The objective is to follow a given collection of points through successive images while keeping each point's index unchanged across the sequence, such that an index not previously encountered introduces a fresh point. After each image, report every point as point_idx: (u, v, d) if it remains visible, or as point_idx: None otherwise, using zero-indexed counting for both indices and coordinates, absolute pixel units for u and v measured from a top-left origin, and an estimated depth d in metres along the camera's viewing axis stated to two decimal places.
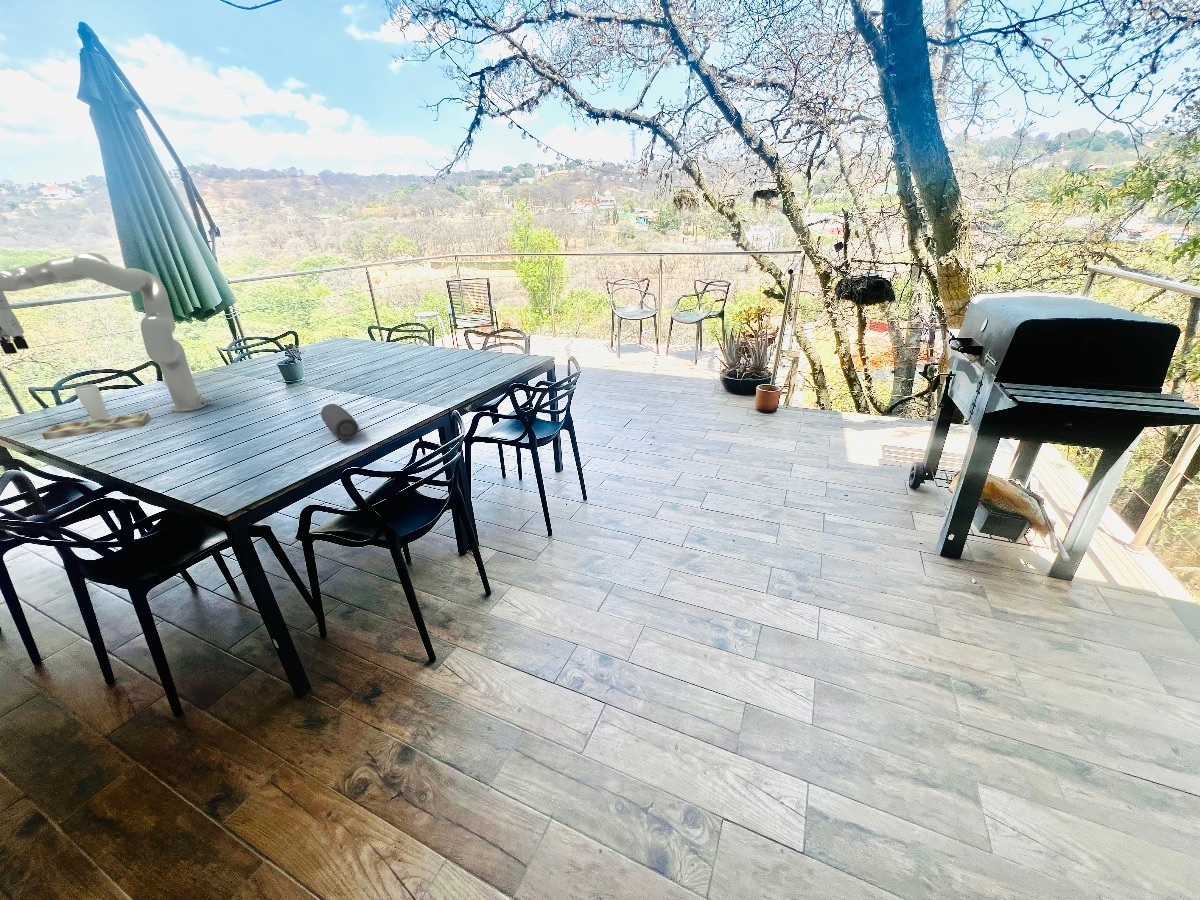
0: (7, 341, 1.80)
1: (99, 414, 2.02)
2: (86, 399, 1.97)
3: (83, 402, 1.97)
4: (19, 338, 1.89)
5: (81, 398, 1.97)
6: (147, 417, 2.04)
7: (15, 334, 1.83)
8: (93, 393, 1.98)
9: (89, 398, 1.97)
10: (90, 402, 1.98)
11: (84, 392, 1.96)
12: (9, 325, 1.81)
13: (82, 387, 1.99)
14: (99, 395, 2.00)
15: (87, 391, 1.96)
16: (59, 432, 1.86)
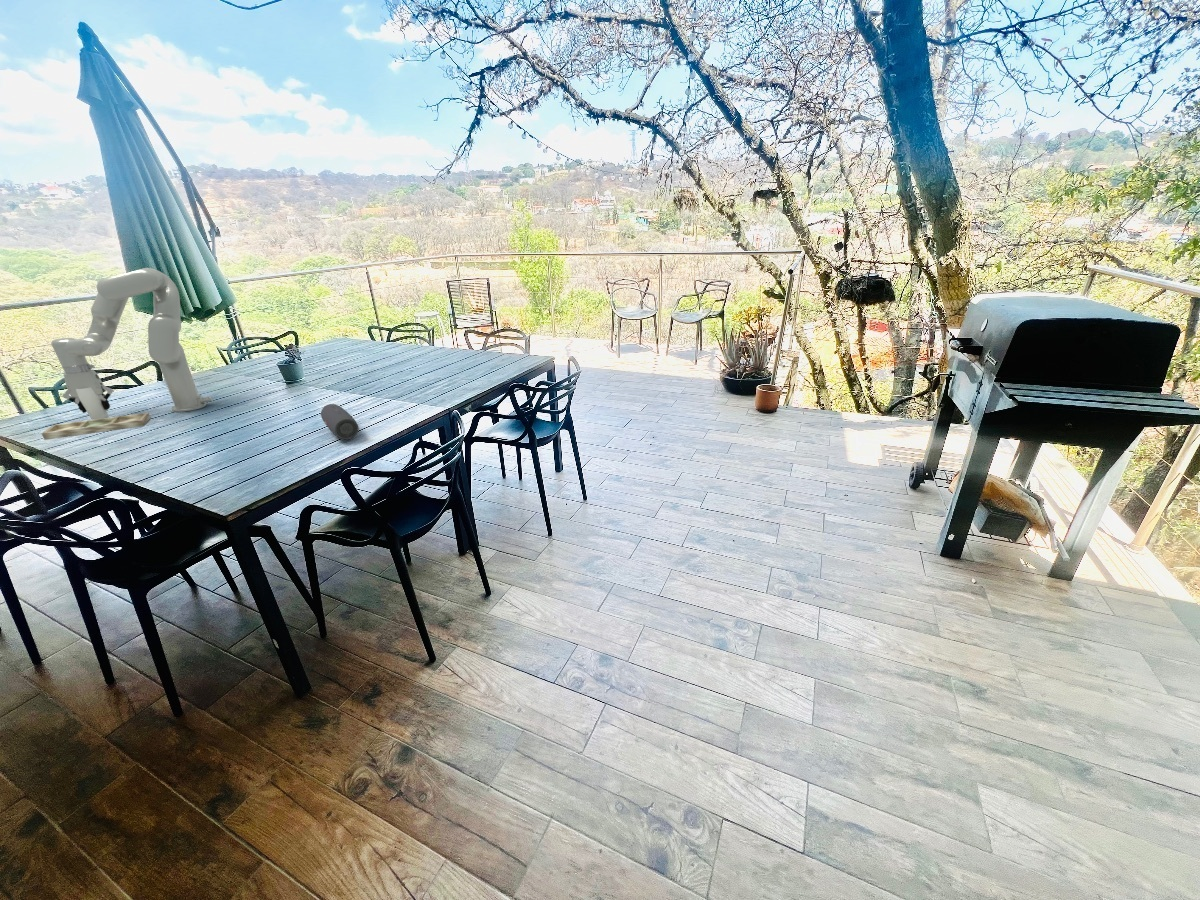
0: (107, 397, 2.03)
1: (99, 414, 2.02)
2: (86, 399, 1.97)
3: (83, 402, 1.97)
4: None
5: (81, 398, 1.97)
6: (147, 417, 2.04)
7: None
8: (93, 393, 1.98)
9: (89, 398, 1.97)
10: (90, 402, 1.98)
11: (84, 392, 1.96)
12: None
13: None
14: None
15: (87, 391, 1.96)
16: (59, 432, 1.86)
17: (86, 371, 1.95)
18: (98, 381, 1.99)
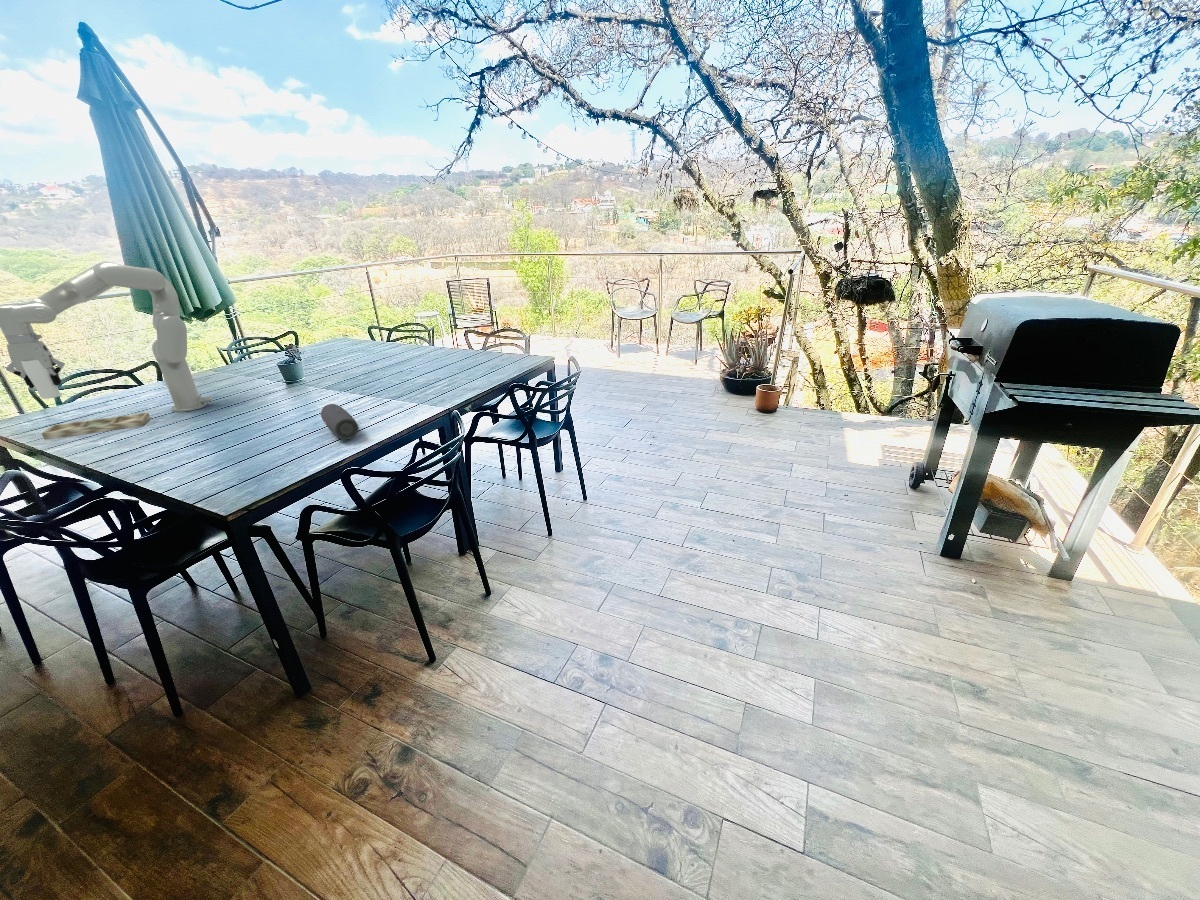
0: None
1: (49, 389, 1.83)
2: (33, 373, 1.79)
3: (30, 376, 1.79)
4: None
5: (27, 371, 1.78)
6: (147, 417, 2.04)
7: None
8: (41, 366, 1.80)
9: (36, 372, 1.79)
10: (38, 376, 1.80)
11: (31, 365, 1.78)
12: None
13: None
14: None
15: (33, 364, 1.78)
16: (59, 432, 1.86)
17: (32, 341, 1.76)
18: (46, 353, 1.80)
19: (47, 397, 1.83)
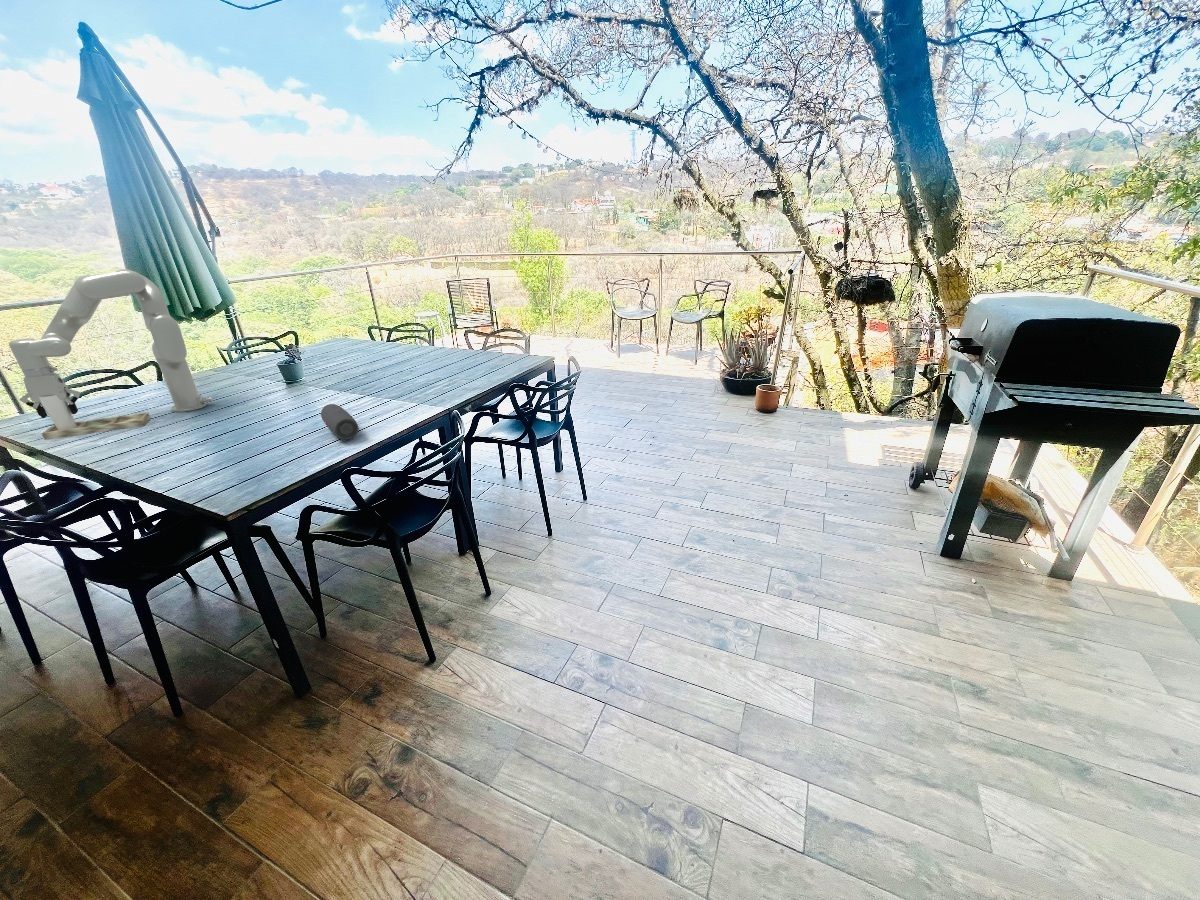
0: None
1: (66, 423, 1.89)
2: (51, 408, 1.84)
3: (48, 411, 1.85)
4: (41, 406, 1.85)
5: (45, 407, 1.84)
6: (147, 417, 2.04)
7: None
8: (58, 401, 1.85)
9: (54, 407, 1.85)
10: (55, 411, 1.86)
11: (49, 401, 1.83)
12: None
13: None
14: (65, 403, 1.88)
15: (51, 399, 1.83)
16: (59, 432, 1.86)
17: (48, 374, 1.81)
18: (62, 385, 1.85)
19: None
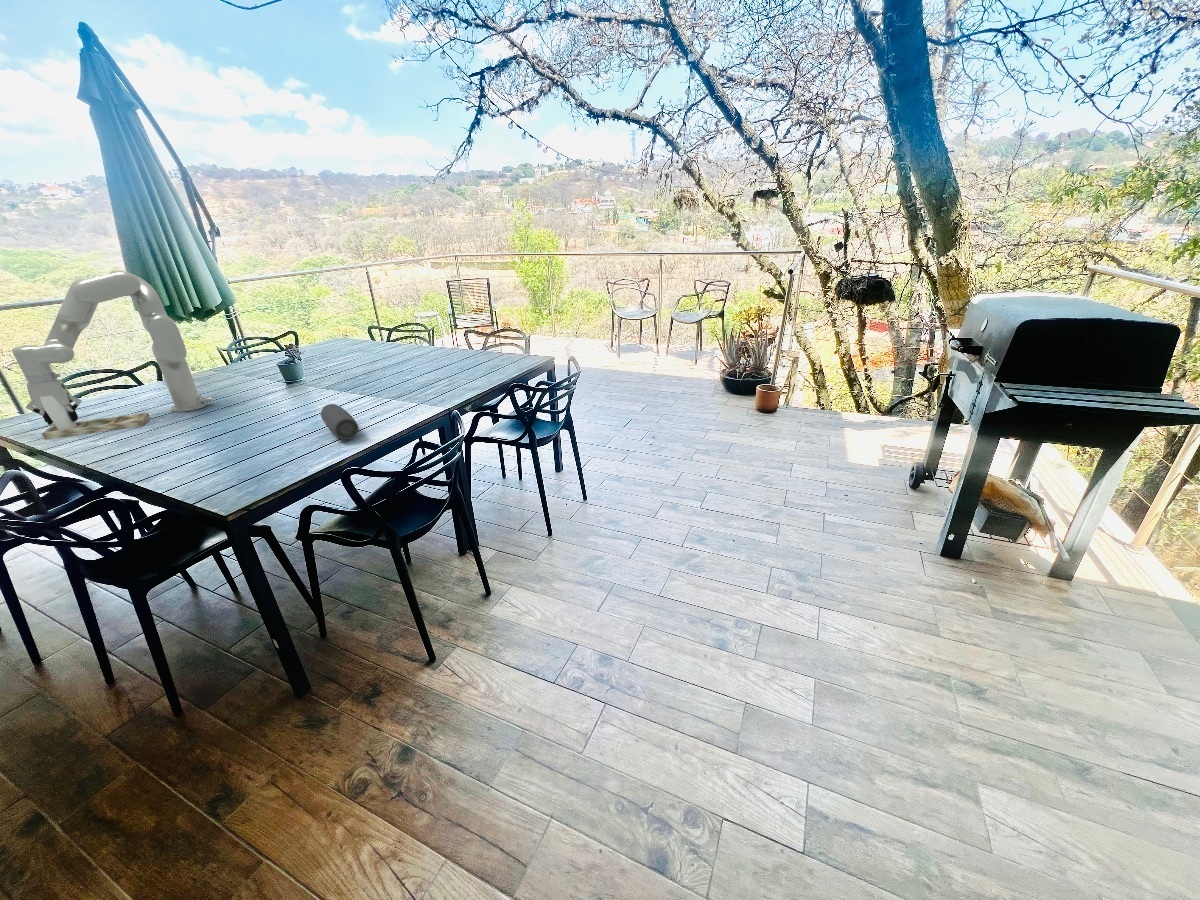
0: None
1: (65, 423, 1.89)
2: (50, 407, 1.84)
3: (47, 411, 1.85)
4: None
5: (44, 406, 1.84)
6: (147, 417, 2.04)
7: None
8: None
9: (53, 406, 1.85)
10: (54, 411, 1.86)
11: (48, 400, 1.83)
12: None
13: None
14: None
15: (50, 399, 1.84)
16: (59, 432, 1.86)
17: (51, 380, 1.82)
18: (64, 391, 1.86)
19: None
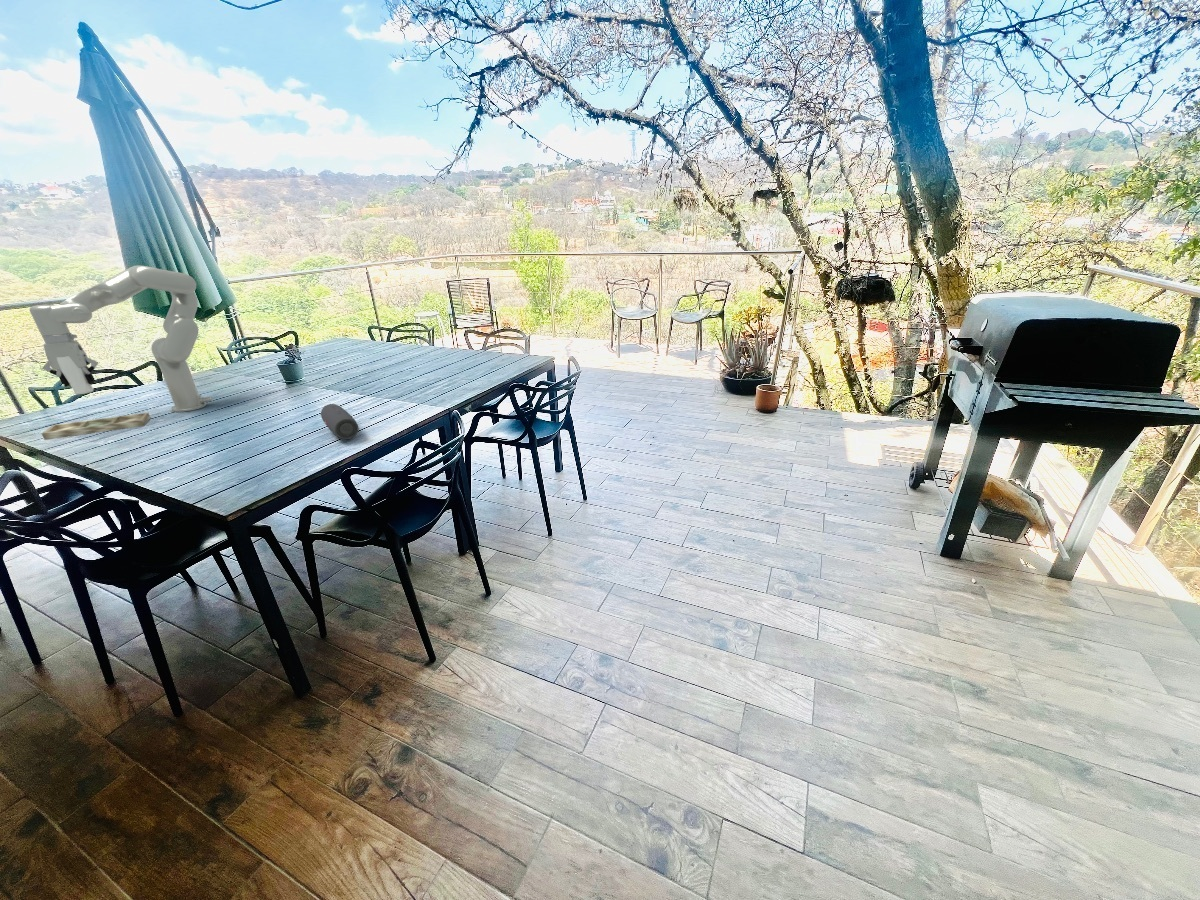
0: (91, 371, 1.89)
1: (82, 385, 1.87)
2: (67, 368, 1.83)
3: (64, 372, 1.83)
4: None
5: (61, 367, 1.82)
6: (147, 417, 2.04)
7: None
8: None
9: (70, 367, 1.83)
10: (71, 372, 1.84)
11: (64, 361, 1.82)
12: None
13: None
14: None
15: (67, 359, 1.82)
16: (59, 432, 1.86)
17: (68, 341, 1.81)
18: (81, 352, 1.84)
19: (81, 392, 1.87)
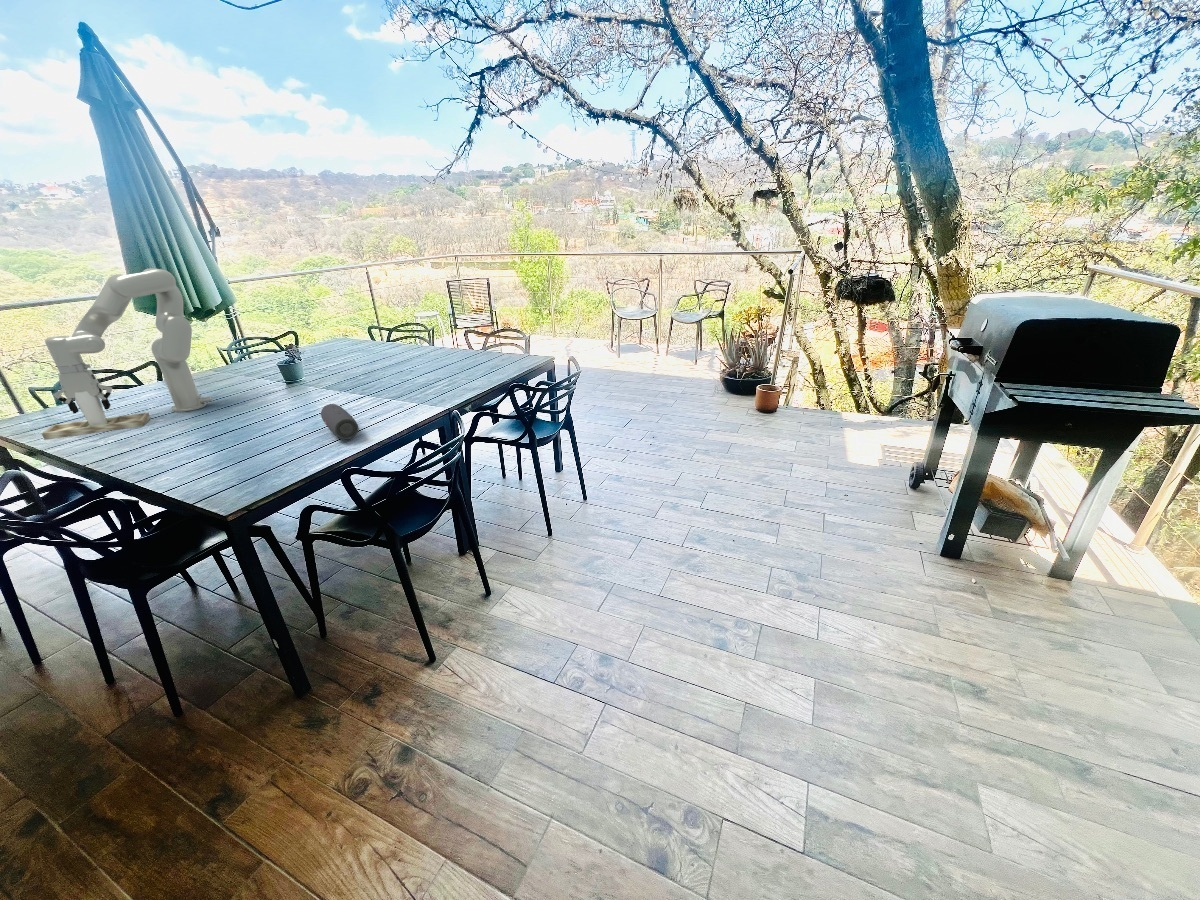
0: None
1: (97, 419, 1.93)
2: (84, 403, 1.89)
3: (81, 406, 1.89)
4: (72, 402, 1.89)
5: (78, 402, 1.88)
6: (147, 417, 2.04)
7: None
8: (91, 397, 1.90)
9: (87, 402, 1.89)
10: (88, 406, 1.90)
11: (82, 396, 1.88)
12: None
13: None
14: (97, 399, 1.92)
15: (84, 395, 1.88)
16: (59, 432, 1.86)
17: (82, 371, 1.86)
18: (94, 381, 1.89)
19: None
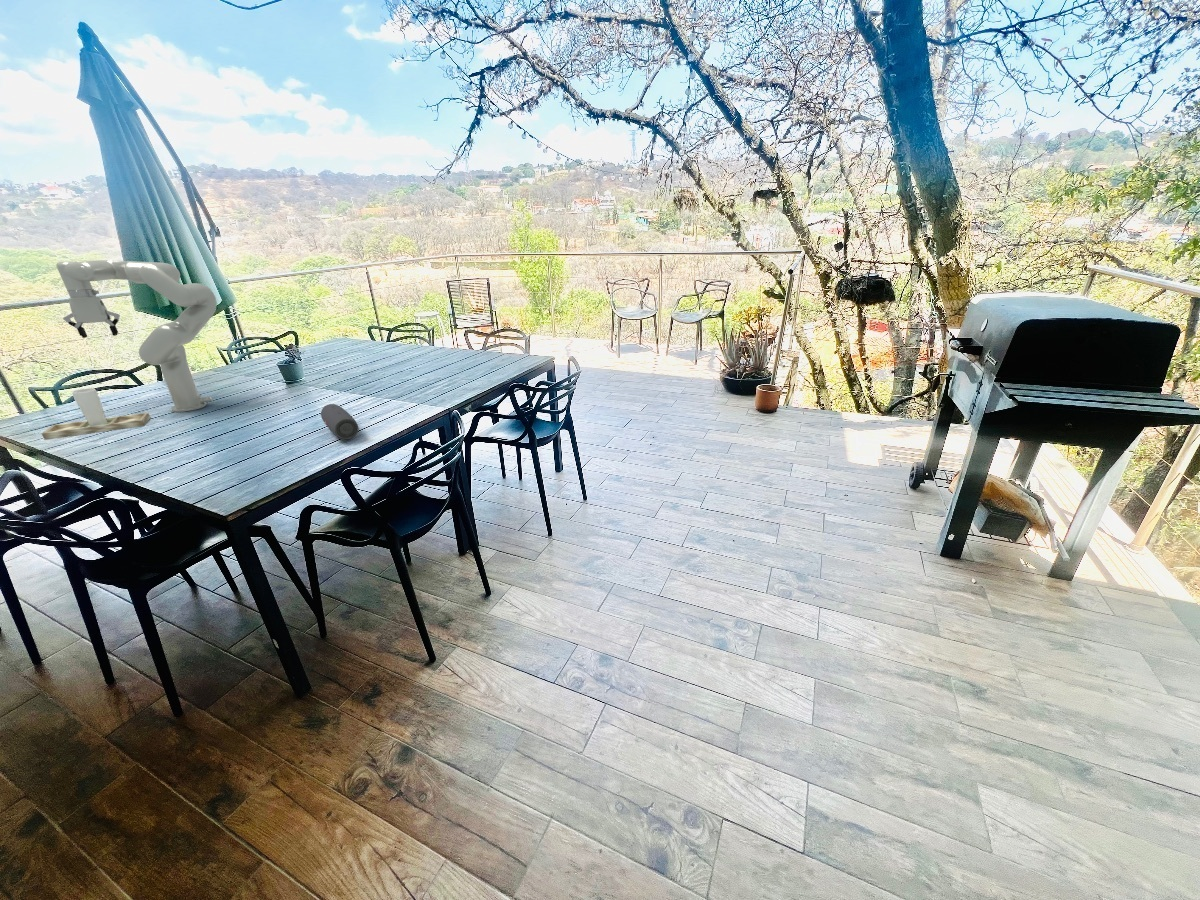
0: None
1: (98, 419, 1.93)
2: (84, 403, 1.89)
3: (81, 406, 1.89)
4: (81, 327, 1.98)
5: (79, 402, 1.88)
6: (147, 417, 2.04)
7: None
8: (91, 397, 1.90)
9: (87, 402, 1.89)
10: (88, 407, 1.90)
11: (83, 396, 1.88)
12: None
13: (80, 391, 1.91)
14: (98, 399, 1.92)
15: (85, 395, 1.88)
16: (59, 432, 1.86)
17: (91, 296, 1.95)
18: (103, 307, 1.99)
19: None
